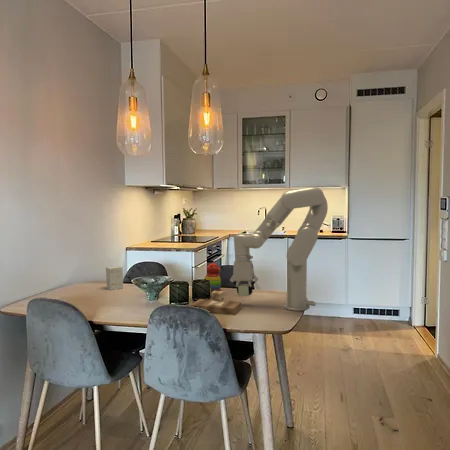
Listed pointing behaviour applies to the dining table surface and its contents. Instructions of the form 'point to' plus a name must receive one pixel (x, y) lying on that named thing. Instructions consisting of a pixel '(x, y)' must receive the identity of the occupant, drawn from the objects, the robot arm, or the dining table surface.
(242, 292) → the sage cube
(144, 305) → the dining table surface
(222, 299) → the beech block
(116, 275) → the small box
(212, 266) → the stacking bear
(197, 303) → the base board
